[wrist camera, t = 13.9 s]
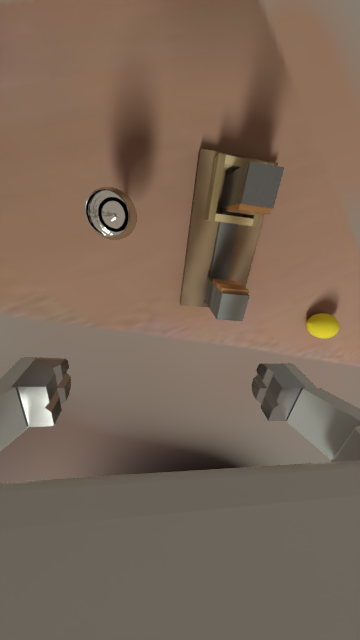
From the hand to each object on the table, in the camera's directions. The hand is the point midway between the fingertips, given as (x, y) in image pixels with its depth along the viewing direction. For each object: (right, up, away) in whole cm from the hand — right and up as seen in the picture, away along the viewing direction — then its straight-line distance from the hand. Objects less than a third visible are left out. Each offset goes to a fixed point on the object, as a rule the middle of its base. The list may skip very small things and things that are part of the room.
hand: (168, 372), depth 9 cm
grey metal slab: (+9, +21, +22) cm, 32 cm away
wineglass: (-9, +19, +24) cm, 32 cm away
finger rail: (+8, +16, +28) cm, 33 cm away
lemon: (+31, +2, +38) cm, 49 cm away
